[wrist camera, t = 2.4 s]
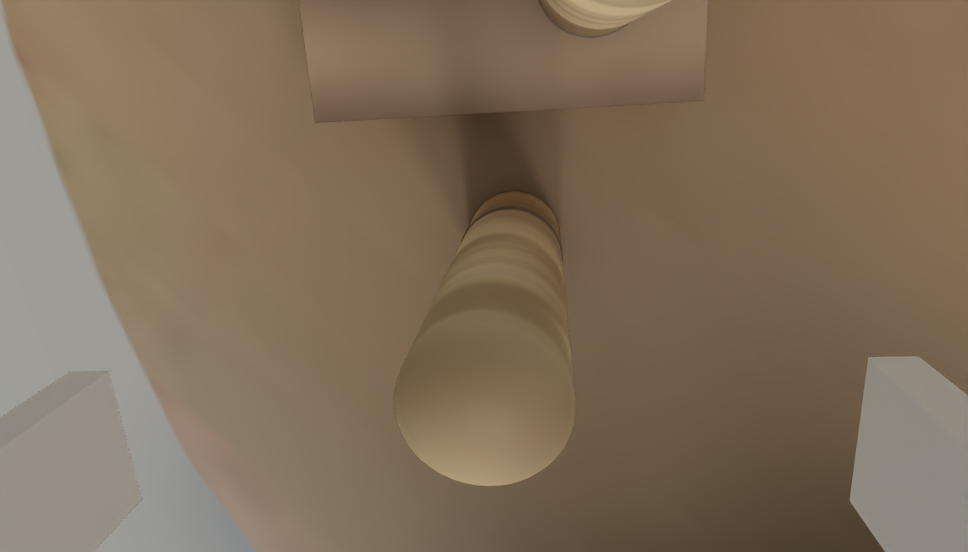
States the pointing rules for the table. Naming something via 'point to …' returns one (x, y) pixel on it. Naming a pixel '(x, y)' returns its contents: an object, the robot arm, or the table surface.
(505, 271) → the leg peg
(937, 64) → the table surface
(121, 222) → the table surface
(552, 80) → the wooden base block
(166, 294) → the table surface
